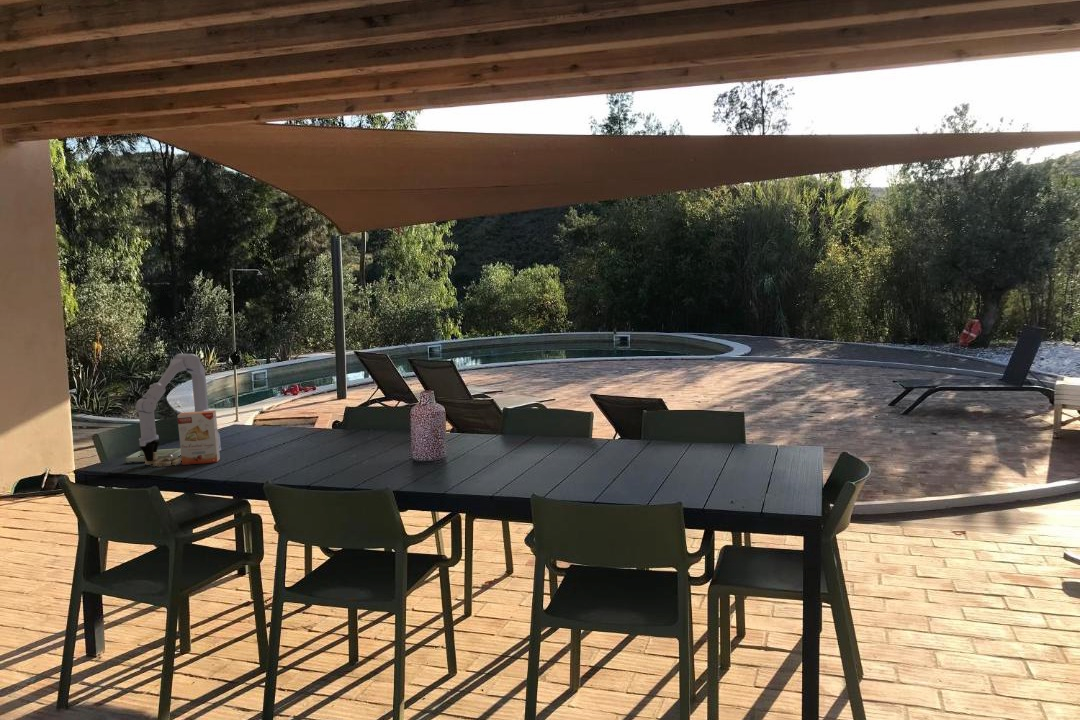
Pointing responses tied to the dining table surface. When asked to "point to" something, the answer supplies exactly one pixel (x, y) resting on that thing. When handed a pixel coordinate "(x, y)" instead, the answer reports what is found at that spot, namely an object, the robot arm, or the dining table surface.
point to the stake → (169, 456)
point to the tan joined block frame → (162, 460)
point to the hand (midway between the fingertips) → (151, 460)
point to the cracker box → (198, 437)
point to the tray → (160, 453)
